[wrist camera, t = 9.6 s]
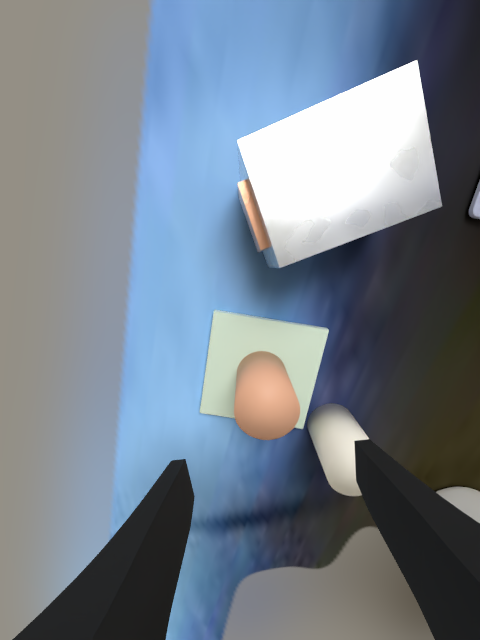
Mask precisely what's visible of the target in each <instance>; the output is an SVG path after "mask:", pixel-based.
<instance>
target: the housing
mask: <svg viewBox="0 0 480 640" xmlns="http://www.w3.org/2000/svg"><path fill="white" fill-rule="evenodd" d="M237 143H238V159H239V175H240V182H239V183H237V184H238V194H239V199H240V202H241V205H242V208H243V211H244V214H245V217H246V220H247V222H248V225H249V228H250V231H251V234H252V237H253V240H254V243H255V246H256V248H257V251H258V253H259V252H261V251H263V253H264V256H265V259H266V262H267V265H268V267H273V268H281V267H284V266H287V265H289V264H292V263H294V262H297V261H300V260H302V259H305V258H308V257H310V256H313V255H316V254H318V253H321V252H323V251H326V250H329V249H331V248H334V247H337V246H339V245H342V244H344V243H347V242H350V241H352V240H355V239H358V238H360V237H363V236H365V235H368V234H371V233H373V232H376V231H379V230H381V229H384V228H387V227H389V226H392V225H394V224H397V223H400V222H402V221H405V220H408V219H410V218H413V217H415V216H418V215H421V214H423V213H426V212H429V211H431V210H434V209H436V208H439V207H442V203H441V197H440V191H439V185H438V179H437V173H436V168H435V162H434V156H433V150H432V144H431V138H430V132H429V126H428V121H427V115H426V109H425V103H424V97H423V91H422V85H421V79H420V73H419V68H418V62H417V60H416V61H414V62H411V63H409V64H407V65H405V66H402V67H400V68H398V69H396V70H394V71H391V72H389V73H387V74H385V75H382V76H380V77H378V78H376V79H373V80H371V81H369V82H367V83H364V84H362V85H360V86H358V87H356V88H353V89H351V90H349V91H347V92H344V93H342V94H340V95H338V96H335V97H333V98H331V99H329V100H326V101H324V102H322V103H320V104H318V105H315V106H313V107H311V108H309V109H306V110H304V111H302V112H300V113H297V114H295V115H293V116H291V117H288V118H286V119H284V120H282V121H280V122H277V123H275V124H273V125H271V126H268V127H266V128H264V129H262V130H259V131H257V132H255V133H253V134H250V135H248V136H246V137H244V138H242V139H239V140H237Z"/></svg>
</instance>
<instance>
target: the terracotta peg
mask: <svg viewBox="0 0 480 640" xmlns="http://www.w3.org/2000/svg"><path fill="white" fill-rule="evenodd" d="M234 416H235V420H236V422H237V424H238V426H239V427H240V428H241V429H242V430H243V431H244V432H245V433H246V434H248V435H249V436H251V437H254V438H257V439H262V440H272V439H277V438H280V437H282V436H284V435H286V434H287V433H289V432H290V431H291V430H292V429H293V428H294V427H295V425H296V424H297V422H298V420H299V416H300V404H299V401H298V398H297V396H296V393H295V391H294V388H293V386H292V383H291V381H290V378H289V376H288V373H287V371H286V368H285V366H284V364H283V362H282V360H281V359H280V358H279V357H278V356H276V355H275V354H273V353H270V352H267V351H257V352H253V353H250V354H248V355H247V356H246V357H244V358H243V359H242V361H241V362H240V364H239V366H238V369H237V377H236V390H235V403H234Z"/></svg>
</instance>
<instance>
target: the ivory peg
mask: <svg viewBox="0 0 480 640" xmlns="http://www.w3.org/2000/svg"><path fill="white" fill-rule="evenodd" d="M307 427H308V431H309V433H310V436H311V438H312V441H313V444H314V446H315V449H316V451H317V454H318V457H319V459H320V462H321V464H322V467H323V470H324V472H325V475H326V477H327V480H328V482H329V484H330V486H331V487H332V488H333V489H334V490H335V491H337V492H339V493H341V494H343V495H347V496H360V495H362V494H361V491H360V489H359V487H358V484H357V482H356V467H355V443H354V441H358V440H367V439H369V438H368V437H367V435H366V434H365V432H364V431H363V430H362V428H361V427H360V425H359V424H358V423H357V421H356V420H355V418H354V417H353V416H352V414H351V413H350V412H349V410H348V409H347V408H345V407H344V406H342V405H339V404H333V403H330V404H324V405H322V406H319V407H318V408H316V409H315V410H314V411H313V412H312V413H311V414H310V416H309V418H308V422H307Z"/></svg>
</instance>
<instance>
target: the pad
mask: <svg viewBox="0 0 480 640" xmlns="http://www.w3.org/2000/svg"><path fill="white" fill-rule="evenodd" d="M328 332H329V330H328V329H327V328H324V327H318V326H312V325H306V324H299V323H293V322H287V321H281V320H275V319H269V318H263V317H257V316H251V315H245V314H239V313H233V312H227V311H220V310H214V314H213V321H212V328H211V335H210V343H209V350H208V357H207V364H206V371H205V378H204V386H203V393H202V400H201V407H200V413H204V414H210V415H217V416H223V417H230V418H235V416H234V403H235V390H236V377H237V369H238V366H239V364H240V362H241V361H242V359H243V358H244V357H246V356H247V355H248V354H250V353H253V352H257V351H267V352H270V353H273V354H275V355H276V356H278V357H279V358H280V359H281V360H282V362H283V364H284V366H285V368H286V371H287V373H288V376H289V378H290V381H291V383H292V386H293V388H294V391H295V393H296V396H297V398H298V401H299V404H300V416H299V420H298V422H297V424H296V425H295V427H294V428H300V429H303V427H304V423H305V419H306V415H307V411H308V408H309V404H310V400H311V396H312V392H313V389H314V385H315V381H316V377H317V373H318V370H319V366H320V362H321V358H322V354H323V351H324V347H325V343H326V339H327V335H328Z"/></svg>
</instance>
